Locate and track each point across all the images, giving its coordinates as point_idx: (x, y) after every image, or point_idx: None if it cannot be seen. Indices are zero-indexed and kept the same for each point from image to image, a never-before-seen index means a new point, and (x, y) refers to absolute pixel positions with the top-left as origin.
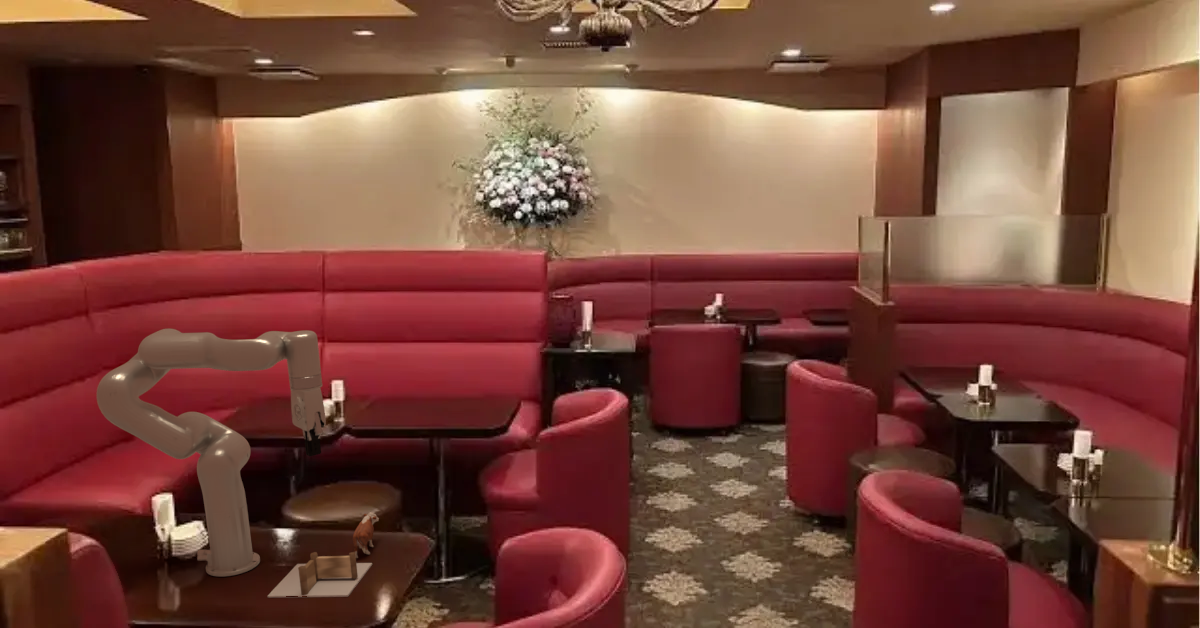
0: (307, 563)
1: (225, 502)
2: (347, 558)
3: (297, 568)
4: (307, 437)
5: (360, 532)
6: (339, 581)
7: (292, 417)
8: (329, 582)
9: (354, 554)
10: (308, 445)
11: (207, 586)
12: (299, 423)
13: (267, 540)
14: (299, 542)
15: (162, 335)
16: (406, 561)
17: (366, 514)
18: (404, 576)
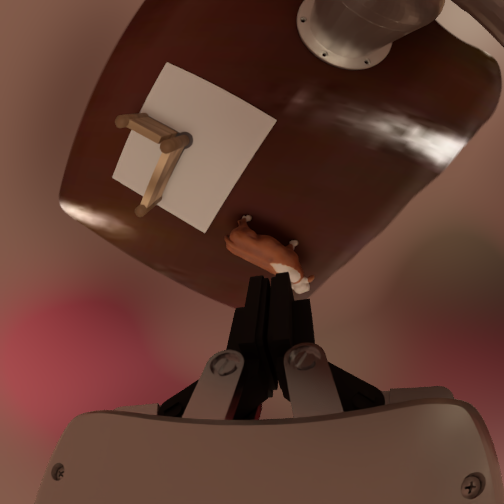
0: (148, 131)
1: None
2: (142, 200)
3: (254, 116)
4: (239, 368)
5: (231, 248)
6: None
7: (471, 470)
8: None
9: (136, 214)
10: (242, 323)
11: None
12: (209, 476)
13: (428, 111)
14: (385, 152)
15: None
16: (191, 274)
17: (309, 281)
18: (144, 257)
